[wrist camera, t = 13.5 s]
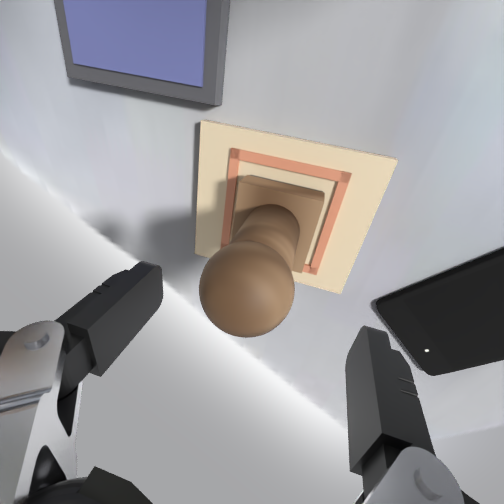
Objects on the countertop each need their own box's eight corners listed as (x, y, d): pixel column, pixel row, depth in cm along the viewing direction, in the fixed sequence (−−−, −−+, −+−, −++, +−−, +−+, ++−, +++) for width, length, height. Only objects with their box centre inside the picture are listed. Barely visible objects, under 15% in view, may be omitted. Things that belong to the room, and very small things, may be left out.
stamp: (324, 190, 17) (321, 287, 8) (304, 255, 19) (284, 383, 10) (249, 172, 17) (168, 243, 8) (239, 238, 20) (169, 345, 11)
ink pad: (237, -88, 12) (227, -109, 11) (221, 105, 16) (213, 105, 15) (54, -105, 14) (28, -124, 12) (82, 78, 18) (65, 76, 17)
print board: (395, 157, 16) (399, 161, 15) (340, 287, 21) (340, 295, 20) (205, 119, 17) (199, 120, 16) (198, 249, 22) (193, 255, 21)
